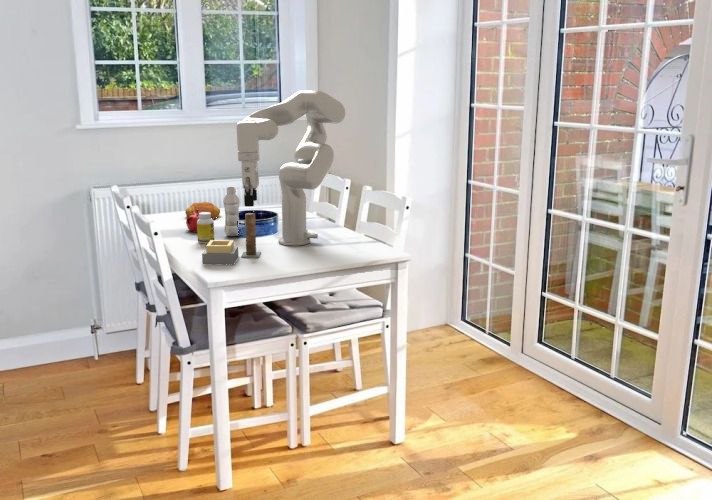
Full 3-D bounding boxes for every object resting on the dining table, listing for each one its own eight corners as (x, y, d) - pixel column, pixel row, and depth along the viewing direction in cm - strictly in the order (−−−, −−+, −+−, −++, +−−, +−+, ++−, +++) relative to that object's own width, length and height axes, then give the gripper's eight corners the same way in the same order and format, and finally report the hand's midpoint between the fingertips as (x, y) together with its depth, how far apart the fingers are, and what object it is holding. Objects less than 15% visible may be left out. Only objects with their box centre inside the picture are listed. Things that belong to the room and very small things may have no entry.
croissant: (187, 219, 331) (184, 202, 329) (220, 213, 334) (217, 197, 331) (187, 225, 317) (183, 208, 315) (221, 219, 320) (218, 202, 318)
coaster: (261, 253, 264) (261, 251, 264) (259, 258, 258) (259, 256, 258) (243, 253, 264) (243, 251, 264) (241, 257, 258) (241, 256, 258)
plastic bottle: (233, 238, 286) (232, 189, 281) (221, 236, 289) (219, 188, 284) (244, 235, 291) (242, 187, 286) (231, 233, 295) (230, 185, 290)
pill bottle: (210, 244, 277) (209, 215, 274) (195, 243, 278) (193, 214, 275) (217, 240, 283) (215, 211, 280) (201, 239, 284) (200, 211, 281)
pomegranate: (212, 228, 305) (211, 207, 302) (208, 233, 295) (207, 211, 293) (188, 227, 304) (188, 206, 302) (184, 232, 295) (183, 210, 292)
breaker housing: (238, 256, 259) (237, 239, 258) (233, 264, 249) (233, 246, 247) (208, 256, 259) (207, 239, 258) (202, 264, 249) (201, 246, 247)
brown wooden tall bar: (256, 252, 263) (255, 213, 259) (255, 255, 259) (254, 215, 255) (246, 252, 263) (245, 213, 259) (245, 255, 259) (244, 215, 255)
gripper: (256, 160, 243) (258, 208, 248) (261, 152, 260) (264, 198, 265) (234, 160, 243) (237, 208, 248) (241, 152, 260) (243, 198, 265)
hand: (251, 203), depth 257 cm, fingers open, 9 cm apart
